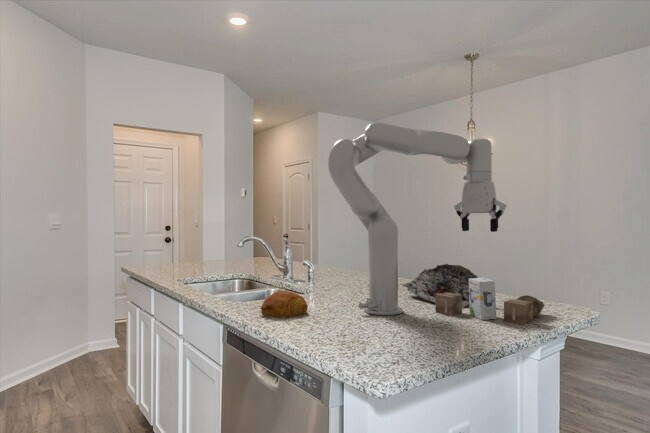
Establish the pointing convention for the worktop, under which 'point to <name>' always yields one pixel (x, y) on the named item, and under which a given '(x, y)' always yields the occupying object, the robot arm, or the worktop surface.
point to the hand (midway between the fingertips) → (479, 231)
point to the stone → (536, 303)
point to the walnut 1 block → (518, 311)
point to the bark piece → (442, 282)
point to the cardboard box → (448, 303)
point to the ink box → (482, 298)
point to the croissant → (284, 305)
